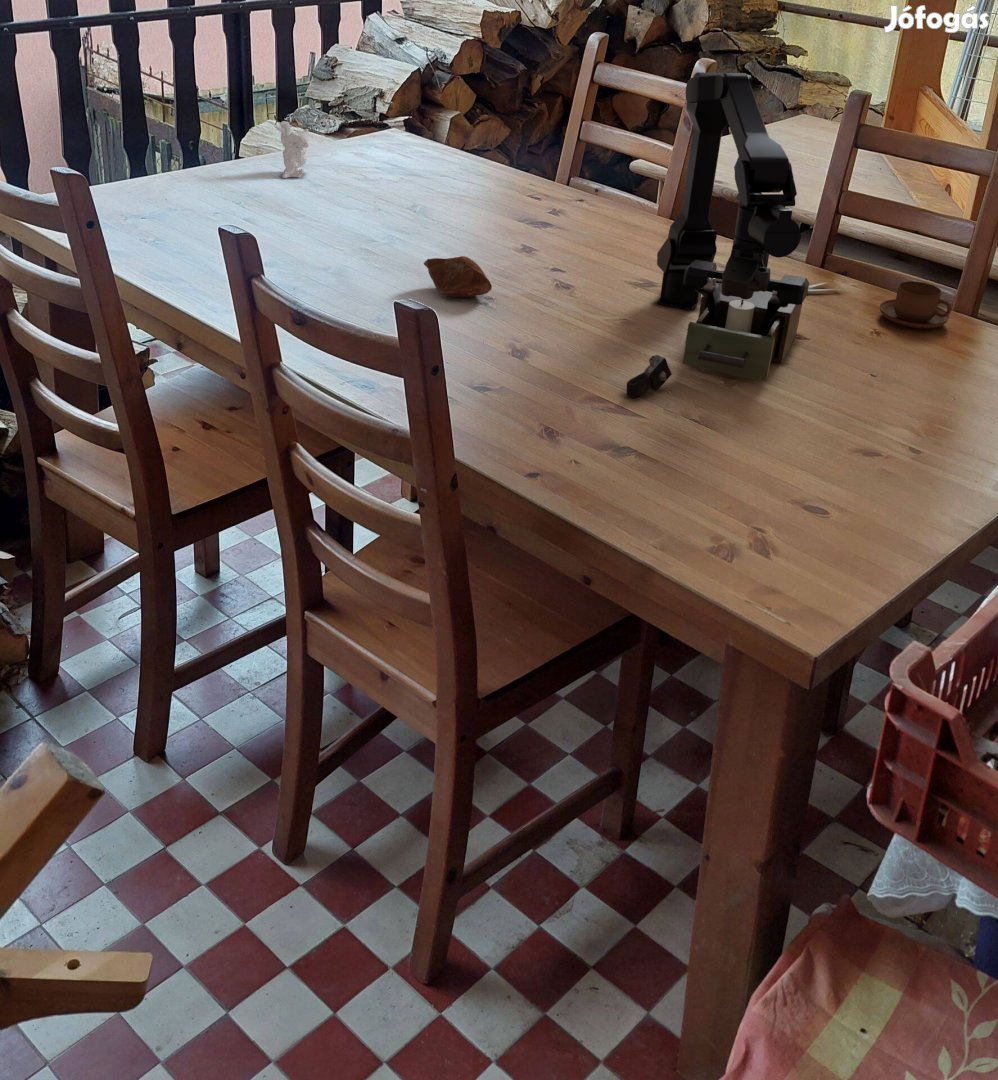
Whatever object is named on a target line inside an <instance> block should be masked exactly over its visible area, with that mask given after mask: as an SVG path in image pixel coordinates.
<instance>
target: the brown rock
mask: <svg viewBox="0 0 998 1080" xmlns="http://www.w3.org/2000/svg"><path fill="white" fill-rule="evenodd" d="M423 265H424V266H425V268H427V271H428V275H429V277H430V278H431V280H432V283H433V284H434V287H435V288H436V290H437V291H438V292H440V293H441V294H444V295H447V296H449V297H451V298H452V297H453V298H466V299H467V298H471V297H476V296H483V295H486V294H488V293H489V292H490V291H492V288H493V285H492V283H491V282H490V279H489V278H488V276H486V275H487V274H485V272H484V270H483V269H482V268H481V266H480V265H479V264H478V263H477V262H475V261H474V260H473V259H471V258H469V257H468V256H463V255H461V256H454V257H448V258H441V257H439V258H438V257H435V258H434V257H433V258H427V259H426V260H425V261H424V262H423Z"/></svg>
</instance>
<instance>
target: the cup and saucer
mask: <svg viewBox="0 0 998 1080" xmlns="http://www.w3.org/2000/svg"><path fill="white" fill-rule="evenodd" d="M941 296H942V290H941V289H940V288H939V287H937V286H936V285H934V284H930V283H927V282H922V281H915V280H914V281H913V280H912V281H911V280H910V281H902V282H900V283H899V284H898V286H897V291H896V296H895V298H894V299H888V300H885V301H883V302H881V303H880V305H879V311H880V313H881V315H882V316H883V317H884V318H886V319H887V320H888V321H890V322H892V323H894V324H896V325H900V326H903V327H907V328H912V329H920V330H921V329H922V330H924V329H925V330H926V329H935V328H938V327H941V326H944V325H945V324H946V323H947V322H949V319H950V314H951V312H952V305H951V303H950V302H949V301H948V300H945V299H942V298H941ZM939 304H943V305H945V306H946V308H947V310H945V309H943V308H941V307H940V306H939Z"/></svg>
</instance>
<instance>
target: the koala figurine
mask: <svg viewBox="0 0 998 1080" xmlns="http://www.w3.org/2000/svg"><path fill="white" fill-rule="evenodd" d="M274 128H275V129H276V130H277V131H278V132H279V133H280V142H281V144H282V145H283V146H284V149H283V151H282V158H283V165H284V167H285V168H284V169H283V173H282V175H281V178H283V179H287V178H302V176H303V174H304V173H305V169H304V168H302V167H303V166H304V165H306V164H307V161H308V158H307V157H306V151H307V148H309V140H310V138H309V129H308V128H305V129H304V130H300V131H299V130H298V131H295V132H292V130H291V124H290V122H289V121H286V120H282V121H281V122H280V125H278V124H275V125H274ZM299 168H300V169H299ZM298 169H299V170H298ZM284 172H288V173H284ZM289 172H290V173H289ZM291 172H293V173H291ZM299 173H302V174H299Z"/></svg>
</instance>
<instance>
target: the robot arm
mask: <svg viewBox="0 0 998 1080" xmlns="http://www.w3.org/2000/svg"><path fill="white" fill-rule="evenodd" d="M685 85H686V86H685V93H684V95H685V100H686V106H685V107H686V109H685V110H686V112H687V115H688V117H689V119H690V121H691V123H692V127H693V128H692V135H691V142H690V148H689V156H688V164H687V171H686V178H685V185H684V191H683V199H682V204H681V205H682V206H681V212H680V213H679V214H678V216H677V217H676V218H675V220H674V221H673V222H672V224H671V225H670V227H669V230H668V234H667V238H666V239H665V241H664V242H663V244H662V245H661V246H660V248H659V250H658V251H657V253H656V265H657V267H658V268H659V269H660V270H661V271H662V272H663V273H662V281H661V289H660V295H659V298H658V299H657V300H656V303H657V304H659V305H664V306H668V307H673V308H679V309H685V310H690V311H691V310H693V309H694V308H695V306H696V305H698V304H699V303H700V302H701V298H702V296H703V297H704V298H705V301H706V304H707V307H708V311H709V316H710V321H711V326H715V327H717V323H718V316H719V304H720V292H721V293H722V295H724V296H735V297H740V298H741V299H750V298H752V296H753V293H754V291H755V292H759V291H763V292H765V291H768V292H772V297H771V298H770V300H769V301H768V305H767V310H766V313H765V317H764V320H763V324H762V327H761V330H760V335H761V336H764V334H765V332H766V330H767V328H768V327H769V325H770V323H771V321H772V319H773V317H774V315H775V314H776V312H777V311H778V309H779V308H780V307H787V306H788V305H789V304H795V305H801V304H802V305H803V303H804V302H805V299H806V298H807V296H808V293H809V292H808V289H810V288H809V285H810V281H809V280H808V278H807V277H805V276H804V277H803V276H797V275H793V274H792V275H791V274H784V275H783V276H782V278H781V279H780V280H778V279H773V278H771V268H769V267H768V265H769V258H770V256H771V257H773V258H784V257H788V256H789V255H791V254H792V253H794V251H795V250H796V249H797V248H798V246H799V244H800V243H801V239H802V233H801V229H800V228H801V227H800V226H799V224H798V223H797V222H796V221H795V220H794V219H792V216H793V210H792V209H791V208H789V207H795V206H796V196H797V195H798V192H797V187H796V183H795V178H794V174H793V167H792V164H791V162H790V160H789V157H788V155H787V154H786V151H785V150H784V148H783V146H782V144H780V143H778V142H777V141H775V140H774V139H772V138H771V137H770V135H769V133H768V131H767V127H766V125H765V122H764V119H763V116H762V113H761V112H760V108H759V105H758V103H757V100H756V97H755V93H754V91H753V85H754V83H753V78H752V76H751V75H750V74H747V73H745V72H701V71H699V72H696V73H695V74H694V75H693V77H690V78H689V80H687V82H686V84H685ZM727 126H728V127H729V130H730V133H731V135H732V139H733V141H734V145H735V147H736V150H737V159H736V162H735V163H734V167H733V168H734V169H733V170H734V181H735V185H736V189H737V192H738V193H737V194H736V196H735V199H736V200H737V201H738V207H737V212H736V221H735V228H734V234H733V241H732V245H731V251H730V255H729V257H728V259H727V262H726V263H725V267H724V270H717V267H718V264H717V262H714V260H715V257H716V254H717V249H718V247H717V243H716V242H717V238H718V234H717V232H716V230H715V229H714V227H713V224H712V222H711V220H710V211H711V206H712V199H713V192H714V187H715V180H716V173H717V172H716V171H717V167H718V161H719V160H718V159H719V153H720V147H721V142H722V141H721V140H722V135H723V131H724V130H725V129H726V128H727ZM781 192H782V193H781ZM721 284H722V285H721Z"/></svg>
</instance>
